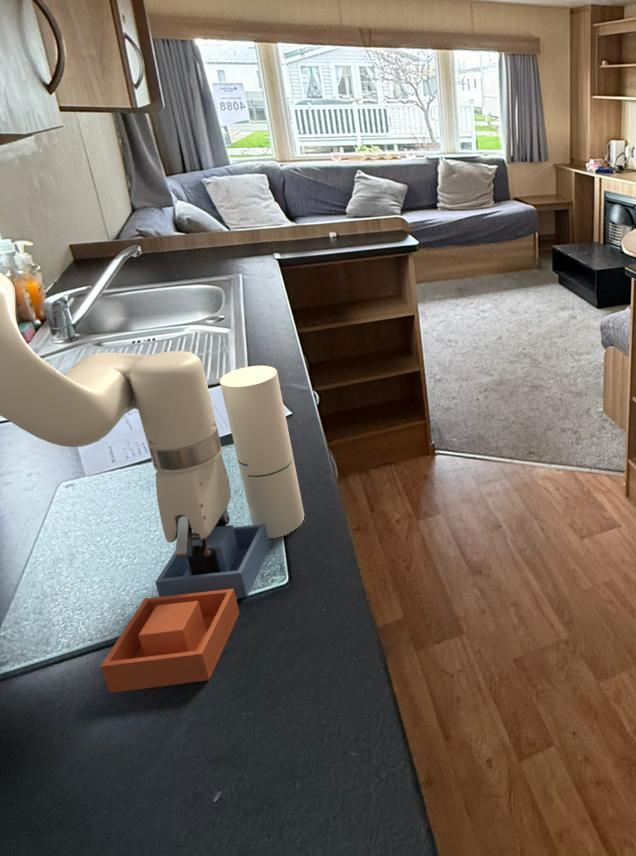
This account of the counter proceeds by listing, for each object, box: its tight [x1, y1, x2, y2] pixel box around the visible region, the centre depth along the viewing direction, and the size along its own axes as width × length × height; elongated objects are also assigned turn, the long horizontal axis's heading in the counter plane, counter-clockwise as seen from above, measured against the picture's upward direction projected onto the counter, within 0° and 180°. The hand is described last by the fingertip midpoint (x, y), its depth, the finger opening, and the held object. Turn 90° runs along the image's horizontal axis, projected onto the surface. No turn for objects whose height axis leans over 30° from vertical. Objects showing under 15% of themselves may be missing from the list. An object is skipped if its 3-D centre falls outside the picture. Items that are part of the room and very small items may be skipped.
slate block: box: [185, 524, 239, 576], centre depth 88 cm, size 5×5×5 cm
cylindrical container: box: [219, 365, 305, 539], centre depth 95 cm, size 7×7×25 cm
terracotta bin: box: [99, 589, 240, 694], centre depth 77 cm, size 10×10×4 cm
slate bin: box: [155, 524, 271, 599], centre depth 89 cm, size 10×10×4 cm
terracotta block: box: [139, 601, 206, 657], centre depth 76 cm, size 5×5×5 cm
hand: (214, 562), depth 88 cm, fingers closed on slate block, 4 cm apart
